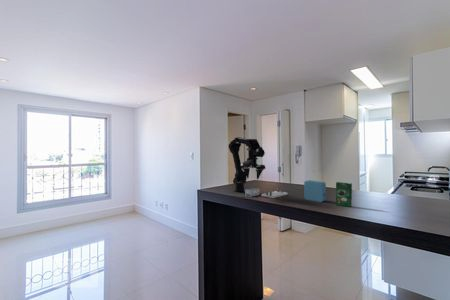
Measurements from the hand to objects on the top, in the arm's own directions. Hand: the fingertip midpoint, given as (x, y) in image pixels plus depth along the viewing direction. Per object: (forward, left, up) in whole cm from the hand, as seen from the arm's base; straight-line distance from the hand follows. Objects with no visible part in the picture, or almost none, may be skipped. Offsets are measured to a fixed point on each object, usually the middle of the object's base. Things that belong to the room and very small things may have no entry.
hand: (252, 178), depth 159 cm
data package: (+38, +16, -12) cm, 43 cm away
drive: (0, 0, -12) cm, 12 cm away
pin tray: (+11, +11, -12) cm, 19 cm away
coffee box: (+56, +14, -12) cm, 59 cm away
